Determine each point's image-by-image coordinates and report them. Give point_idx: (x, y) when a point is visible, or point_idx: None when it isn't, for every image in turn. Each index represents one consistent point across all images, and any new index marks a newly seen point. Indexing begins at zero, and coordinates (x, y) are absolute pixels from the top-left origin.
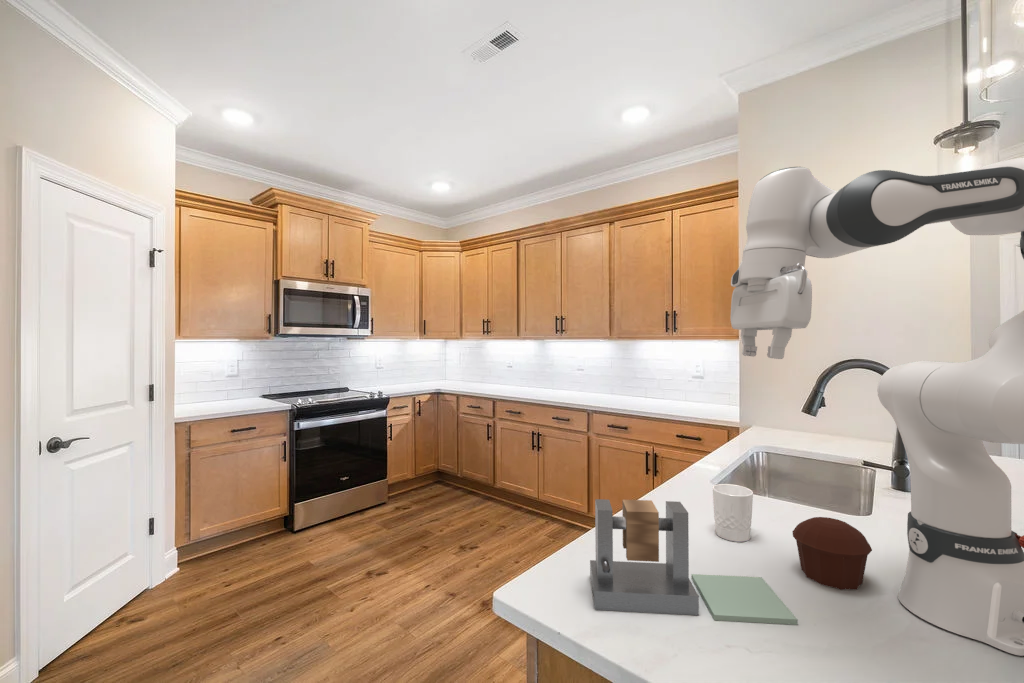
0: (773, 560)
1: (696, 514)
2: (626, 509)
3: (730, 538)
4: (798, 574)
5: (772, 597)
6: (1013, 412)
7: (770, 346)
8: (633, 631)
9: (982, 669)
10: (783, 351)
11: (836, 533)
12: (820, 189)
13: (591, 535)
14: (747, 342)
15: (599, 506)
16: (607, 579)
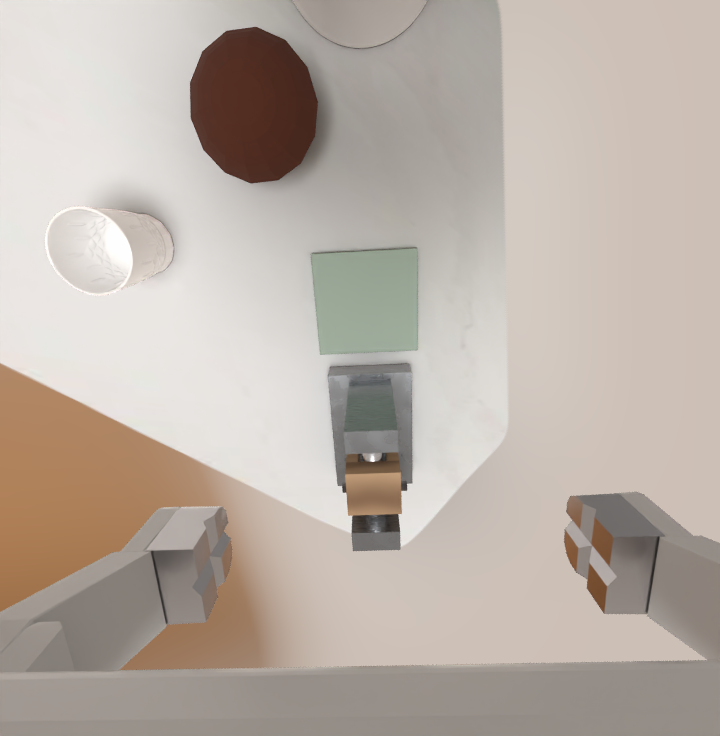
0: (232, 205)
1: (60, 287)
2: (393, 513)
3: (171, 257)
4: (275, 181)
5: (366, 260)
6: None
7: (643, 612)
8: (444, 435)
9: (492, 38)
10: (668, 522)
11: (286, 111)
12: None
13: (216, 467)
14: (136, 627)
15: (384, 546)
16: None
